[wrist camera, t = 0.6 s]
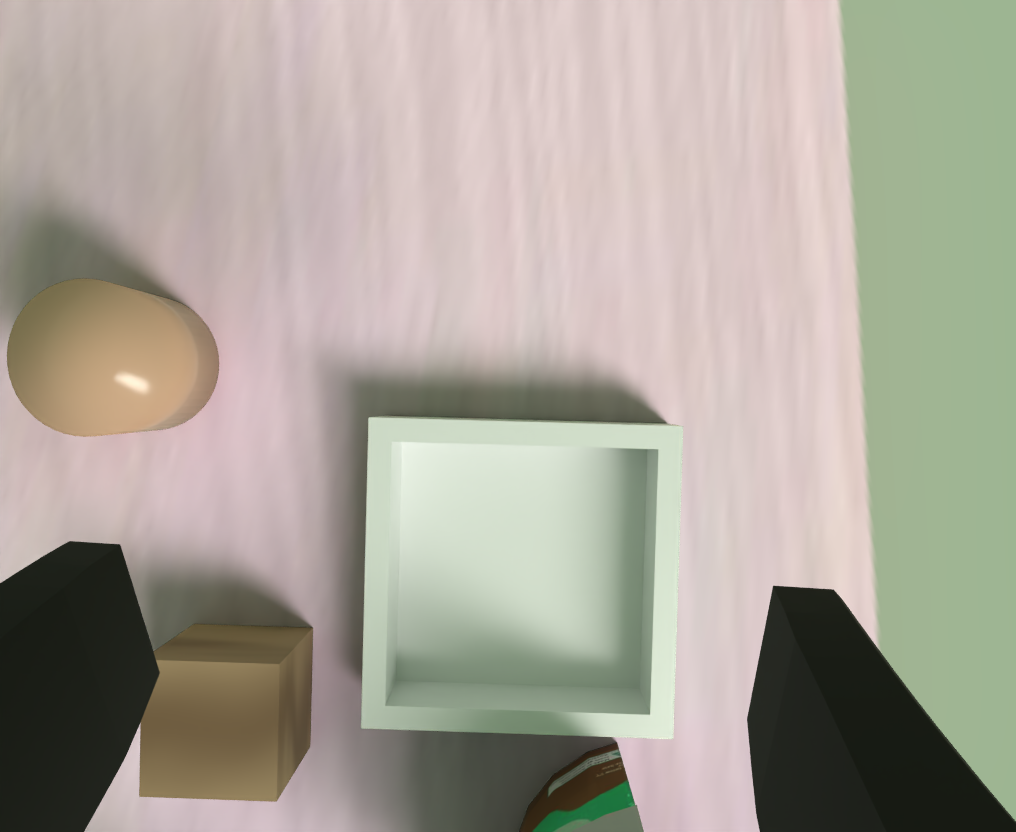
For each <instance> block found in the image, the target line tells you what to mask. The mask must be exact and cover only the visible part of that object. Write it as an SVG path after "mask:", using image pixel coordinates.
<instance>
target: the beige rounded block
mask: <svg viewBox="0 0 1016 832" xmlns="http://www.w3.org/2000/svg"><path fill="white" fill-rule="evenodd" d="M7 366H8V371H9V377H10V380H11V383H12V386H13V388H14V390H15V392H16V395H17V396H18V398H19V399H20V401H21V403H22V404H23V405H24V406H25V408H26V409H27V410H28V411H29V412H30V413H31V414H32V415H33V416H34V417H35V418H36V419H37V420H39V421H40V422H42V423H43V424H44V425H46V426H48V427H50V428H52V429H54V430H56V431H59V432H62V433H65V434H69V435H73V436H83V437H86V436H102V435H112V434H123V433H134V432H145V431H156V430H164V429H169V428H172V427H176V426H178V425H180V424H183V423H185V422H186V421H188V420H189V419H191V418H192V417H194V416H195V415H196V414H197V413H198V412H199V411H200V410H201V409H202V408H203V407H204V406H205V405H206V403H207V402H208V400H209V399H210V397H211V395H212V393H213V391H214V389H215V386H216V383H217V379H218V374H219V355H218V349H217V346H216V343H215V339H214V337H213V335H212V333H211V331H210V330H209V328H208V326H207V325H206V324H205V322H204V321H203V320H202V319H201V318H200V317H199V316H198V315H197V314H196V313H195V312H194V311H192V310H191V309H190V308H188V307H187V306H185V305H183V304H181V303H179V302H176V301H174V300H171V299H167V298H164V297H160V296H157V295H153V294H149V293H146V292H142V291H139V290H135V289H131V288H128V287H124V286H121V285H117V284H113V283H110V282H106V281H102V280H97V279H87V278H86V279H73V280H67V281H63V282H60V283H57V284H55V285H53V286H50V287H48V288H46V289H45V290H43V291H42V292H40V293H39V294H37V295H36V296H35V297H34V298H33V299H32V300H30V302H29V303H28V304H27V305H26V306H25V307H24V308H23V310H22V311H21V313H20V314H19V316H18V317H17V319H16V321H15V323H14V325H13V328H12V331H11V333H10V337H9V342H8V349H7Z"/></svg>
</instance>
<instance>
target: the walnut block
mask: <svg viewBox="0 0 1016 832" xmlns="http://www.w3.org/2000/svg"><path fill="white" fill-rule="evenodd" d="M312 650H313V628H307V627H275V626H244V625H213V624H193V625H192V626H190V627H189V628H187V629H186V630H184V631H183V632H182V633H180V634H179V635H177V636H176V637H174V638H173V639H171V640H170V641H168V642H167V643H165V644H164V645H163V646H161V647H160V648H158V649H157V650H155V651H154V655H155V658H156V662H157V665H158V668H159V671H160V674H159V677H158V679H157V682H156V684H155V687H154V689H153V692H152V695H151V697H150V700H149V702H148V705H147V707H146V710H145V712H144V715H143V717H142V720H141V736H140V789H139V797H164V798H192V799H220V800H248V801H276V802H277V800H278V798H279V797H280V795H281V793H282V792H283V790H284V789H285V787H286V785H287V784H288V782H289V780H290V779H291V777H292V775H293V774H294V772H295V771H296V769H297V767H298V766H299V764H300V762H301V761H302V759H303V757H304V756H305V754H306V753H307V751H308V749H309V748H310V738H311V694H312Z"/></svg>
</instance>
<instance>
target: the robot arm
mask: <svg viewBox="0 0 1016 832" xmlns="http://www.w3.org/2000/svg"><path fill="white" fill-rule="evenodd" d="M159 674H160V671H159V668H158V665H157V662H156V658H155V655H154V652H153V649H152V646H151V642H150V639H149V636H148V633H147V630H146V626H145V623H144V620H143V617H142V613H141V610H140V607H139V604H138V601H137V597H136V594H135V591H134V588H133V584H132V581H131V578H130V575H129V572H128V568H127V565H126V562H125V559H124V556H123V552H122V549H121V546H120V544H104V543H88V542H72V541H69V542H67V543H66V544H64V545H62V546H60V547H59V548H57V549H55V550H53V551H52V552H50V553H48V554H46V555H45V556H43V557H41V558H40V559H38V560H37V561H35V562H33V563H32V564H30V565H28V566H27V567H25V568H24V569H22V570H20V571H19V572H17V573H16V574H14V575H13V576H11V577H9V578H8V579H6V580H5V581H3V582H2V583H0V832H84V831H85V829H86V827H87V825H88V823H89V822H90V820H91V818H92V816H93V815H94V813H95V811H96V809H97V807H98V806H99V804H100V802H101V800H102V799H103V797H104V795H105V793H106V791H107V790H108V788H109V786H110V784H111V783H112V781H113V779H114V777H115V775H116V773H117V772H118V770H119V768H120V766H121V764H122V762H123V761H124V759H125V757H126V754H127V752H128V750H129V748H130V745H131V743H132V741H133V738H134V736H135V734H136V731H137V729H138V727H139V725H140V722H141V720H142V717H143V715H144V712H145V710H146V707H147V705H148V702H149V700H150V697H151V695H152V692H153V689H154V687H155V684H156V682H157V679H158V677H159ZM747 722H748V733H749V744H750V755H751V767H752V777H753V786H754V796H755V805H756V814H757V819H758V824H759V829H760V832H1016V821H1015V820H1014V819H1013V818H1012V817H1011V815H1010V814H1009V813H1008V812H1007V811H1006V810H1005V808H1004V807H1003V806H1002V805H1001V804H1000V803H999V801H998V800H997V799H996V798H995V797H994V795H993V794H992V793H991V792H990V791H989V790H988V788H987V787H986V786H985V785H984V784H983V782H982V781H981V780H980V779H979V777H978V776H977V775H976V774H975V773H974V771H973V770H972V769H971V768H970V766H969V765H968V764H967V763H966V761H965V760H964V759H963V758H962V757H961V755H960V754H959V753H958V752H957V750H956V749H955V748H954V747H953V745H952V744H951V743H950V742H949V741H948V739H947V738H946V737H945V736H944V734H943V733H942V732H941V731H940V729H939V728H938V727H937V726H936V724H935V723H934V722H933V721H932V719H931V718H930V717H929V715H928V714H927V713H926V712H925V710H924V709H923V708H922V707H921V705H920V704H919V703H918V702H917V700H916V699H915V697H914V696H913V695H912V694H911V692H910V691H909V690H908V688H907V687H906V686H905V684H904V683H903V682H902V680H901V679H900V678H899V676H898V675H897V674H896V673H895V671H894V670H893V668H892V667H891V666H890V664H889V663H888V662H887V660H886V659H885V658H884V656H883V655H882V653H881V652H880V651H879V649H878V648H877V647H876V645H875V644H874V643H873V641H872V640H871V638H870V637H869V636H868V634H867V633H866V632H865V630H864V629H863V627H862V626H861V625H860V623H859V622H858V621H857V619H856V618H855V616H854V615H853V614H852V612H851V611H850V609H849V608H848V607H847V605H846V604H845V603H844V601H843V600H842V599H841V597H840V596H839V595H838V594H837V593H836V592H835V591H834V590H831V589H815V588H800V587H784V586H773V590H772V595H771V600H770V605H769V610H768V615H767V620H766V626H765V631H764V636H763V641H762V646H761V651H760V656H759V661H758V666H757V671H756V677H755V682H754V687H753V692H752V697H751V702H750V707H749V712H748V717H747Z"/></svg>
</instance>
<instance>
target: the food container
mask: <svg viewBox="0 0 1016 832" xmlns="http://www.w3.org/2000/svg"><path fill="white" fill-rule="evenodd" d="M519 832H644V831H643V827H642V824H641V820H640V816H639V812H638V809H637V805H635V803H634V799H633V796H632V792H631V789H630V785H629V782H628V778H627V775H626V772H625V768H624V765H623V761H622V758H621V754H620V751H619V747H618V744H617V743H614V744H611V745H608V746H605V747H602V748H599V749H595V750H592V751H589V752H587V753H585V754H584V755H582V756H581V757H579V758H578V759H576V760H575V761H573V762H572V763H570V764H569V765H567V766H566V767H564V768H563V769H561V770H560V771H558V772H557V773H555V774H554V775H553V776H552V777H551V778H550V780H549V781H548V782H547V783H546V785H545V786H544V787H543V788H542V790H541V791H540V792H539V793H538V795H537V796H536V797H535V798H534V800H533V801H532V802H531V803H530V805H529V806H528V809H527V812H526V814H525V817H524V820H523V822H522V825H521V828H520V830H519Z"/></svg>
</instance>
